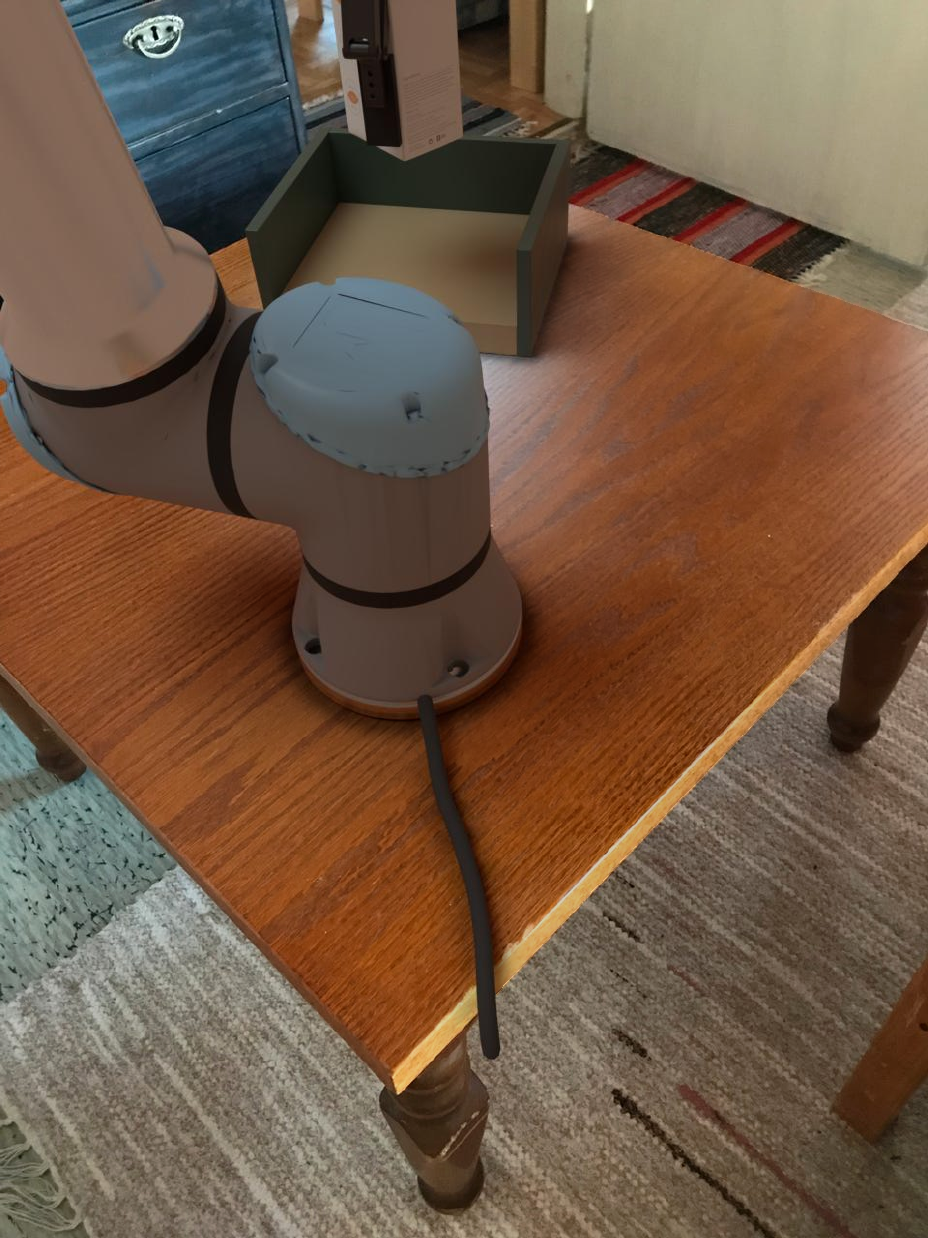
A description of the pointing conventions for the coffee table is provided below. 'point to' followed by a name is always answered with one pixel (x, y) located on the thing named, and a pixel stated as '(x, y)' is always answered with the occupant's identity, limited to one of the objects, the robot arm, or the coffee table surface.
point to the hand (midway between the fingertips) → (402, 115)
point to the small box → (414, 75)
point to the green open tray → (425, 227)
